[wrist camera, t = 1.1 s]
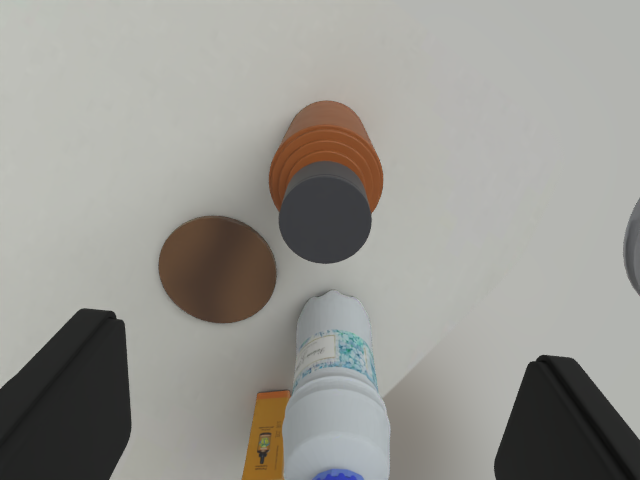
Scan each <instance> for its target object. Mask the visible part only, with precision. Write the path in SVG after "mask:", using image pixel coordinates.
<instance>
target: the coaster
mask: <svg viewBox="0 0 640 480" xmlns="http://www.w3.org/2000/svg"><path fill="white" fill-rule="evenodd" d="M159 274H160V278H161V282H162V284H163V287H164V289H165V291H166V292H167V294H168V295H169V297H170V298H171V299H172V300H173V302H174V303H175V304H176V305H177V306H179V307H180V308H181V309H182V310H184V311H185V312H187V313H188V314H190V315H192V316H194V317H196V318H198V319H201V320H204V321H208V322H214V323H232V322H237V321H241V320H244V319H246V318H248V317H251V316H252V315H254V314H255V313H257V312H258V311H259V310H261V309H262V308H263V307H264V306H265V304H266V303H267V302H268V300H269V299H270V297H271V295H272V293H273V290H274V287H275V283H276V277H277V269H276V262H275V259H274V256H273V253H272V251H271V249H270V247H269V246H268V244H267V243H266V241H265V240H264V239H263V238H262V237H261V236H260V235H259V234H258V233H257V232H256V231H255V230H254V229H252V228H251V227H249V226H248V225H246V224H244V223H242V222H240V221H238V220H235V219H232V218H228V217H222V216H204V217H199V218H195V219H192V220H190V221H188V222H186V223H184V224H182V225H181V226H179V227H178V228H177V229H176V230H175V231H174V232H173V233H172V234H171V235H170V236H169V237H168V239H167V240H166V241H165V243H164V245H163V247H162V250H161V253H160V257H159Z"/></svg>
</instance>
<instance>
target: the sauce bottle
mask: <svg viewBox="0 0 640 480" xmlns="http://www.w3.org/2000/svg"><path fill="white" fill-rule="evenodd" d="M319 161H332V162H337V163H340V164H342V165H344V166H346V167H348V168H350V169H351V170H352V171H353V172H355V174H356V175H357V176H358V177H359V178H360V180H361V181H362V183H363V185H364V188H365V191H366V195H367V199H368V203H369V207H370V211H371V214H372V212H373V211H374V209H375V208H376V206H377V204H378V202H379V199H380V197H381V193H382V189H383V171H382V166H381V163H380V160H379V158H378V156H377V154H376V151H375V149H374V147H373V145H372V143H371V141H370V139H369V137H368V135H367V132H366V130H365V128H364V126H363V124H362V122H361V120H360V119H359V117H358V116H357V115H356V113H355V112H354V111H353V110H351V109H350V108H349V107H347V106H345V105H343V104H341V103H338V102H334V101H319V102H315V103H313V104H310V105H308V106H306V107H305V108H304V109H302V110H301V111H300V112H299V113H298V114H297V115H296V117H295V118H294V120H293V121H292V123H291V125H290V127H289V129H288V131H287V133H286V134H285V136H284V138H283V140H282V142H281V144H280V146H279V148H278V150H277V152H276V154H275V156H274V158H273V160H272V163H271V167H270V172H269V188H270V193H271V197H272V199H273V202H274V204H275V206H276V208H277V209H278V211H279V212H280V208H281V205H282V202H283V198H284V195H285V192H286V189H287V186H288V184H289V182H290V180H291V179H292V177H293V176H294V175H295V174H296V173H297V172H298V171H299V170H300V169H302V168H303V167H305V166H307V165H309V164H311V163H314V162H319Z"/></svg>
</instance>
